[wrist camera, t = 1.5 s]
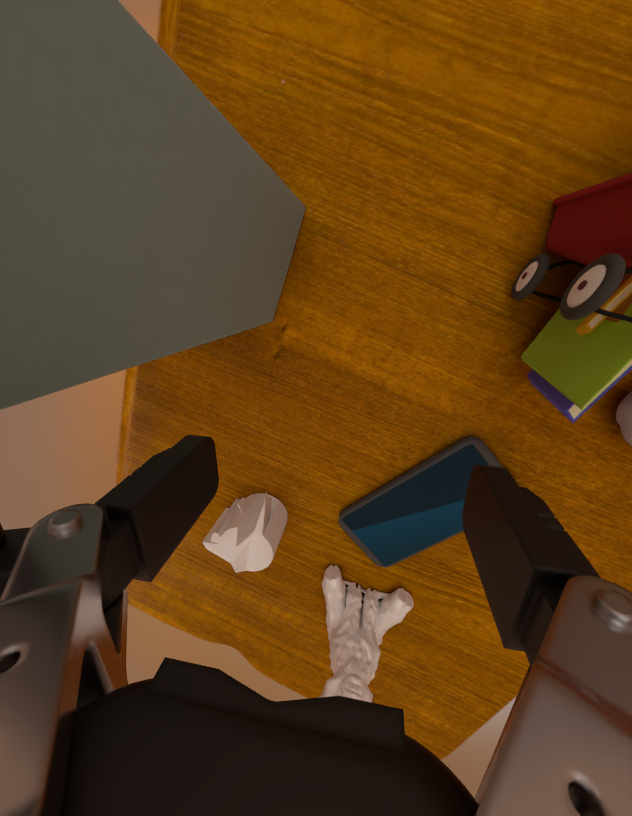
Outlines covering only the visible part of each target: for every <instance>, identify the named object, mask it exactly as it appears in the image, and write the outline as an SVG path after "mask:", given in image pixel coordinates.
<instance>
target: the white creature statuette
mask: <svg viewBox="0 0 632 816" xmlns="http://www.w3.org/2000/svg"><path fill="white" fill-rule="evenodd" d="M345 584H347V585H348V587H345ZM322 587H323V594H324V595H325V601H326V611H327V615H326V623H327V631H328V638H329V641H330V655H329V656H330V659H331V665H330V666H331V669H332V670H333V673H334V676H333V677H332V678H330V679H328V680H327V681H326V684H325V686H324V690H323V692H322V695H320V696H319V697H318V698H320V697H330V696H343V697H348V698H353V699H357V700H362V701H366V702H371V703H372V698H373V694H372V693H371V692H370V690H369V687H368V686H367V685H369V683H370V681H371V680H372V679H373V678H374V677H375V671H376V670H377V666H378V660H379V657H380V649H379V648H378V646H379V645H380V644H382V637H383V635H384V634H385V632H386V631H387V630H388V629H389V628H391V627H392V626H393V625H395V624H397V623H400V622H401V621H402V620H403V618H404V617H405V616H406V614H407V613H408V612H409V611H410V610H411V609H412V607H413V606H414V602H413V599H412V597H411V595H410V594H409V593H408V592H407V591H404V588H399V589H396V590H395V591H394V592H392V593H390V594H388V593H383V592H379V591H376V590H373V592H372V591H371V589H370V588H368V589H367V590H363V589H361V586H360V585H358V587H357V588H356V583H354V582H353V583H351V582H348V581H345V580H343V579H342V576H341V572H340V569H339V567H338V566H337V565H335V566H334V567H333V565H330V566H329V567H328V568H327V569H326V571H325V574H324V580H323V581H322ZM346 590H347V592H346ZM345 592H346V593H345ZM361 592H363V593H365V595H364V597H363V604H362V602H361V601H362V595H361ZM379 599H382V600H381V601H379Z"/></svg>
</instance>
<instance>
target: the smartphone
mask: <svg viewBox="0 0 632 816" xmlns="http://www.w3.org/2000/svg"><path fill="white" fill-rule="evenodd" d="M475 465H484V466H494V467H503V466H502V465H501V464H500V463H499V461H498V460H497V459H496V457H495V456H494V455H493V454H492V452H491V451H490V450H489V449H488V447H487V446H486V445H485V443H484V442H483V441H482V440H480V439H479V438H477V437H467V438H464V439H462V440H460V441H458V442H457V443H455V444H453V445H452V446H450V447H448V448H446V449H445V450H443V451H441V452H440V453H438V454H436V455H435V456H433V457H431V458H430V459H428V460H426V461H425V462H423V463H421V464H419V465H418V466H416V467H414V468H413V469H411V470H409V471H408V472H406V473H404V474H403V475H401V476H399V477H398V478H396V479H394V480H392V481H391V482H389V483H387V484H386V485H384V486H382V487H381V488H379V489H377V490H376V491H374V492H372V493H371V494H369V495H367V496H365V497H364V498H362V499H360V500H359V501H357V502H355V503H354V504H352V505H350V506H349V507H347V508H345V509H344V510H342V511H341V512H340V516H339V524H340V526H341V528H342V529H343V530H344V531H345V532H346V533H347V534H348V535H349V536H350V537H351V538H352V539H353V541H354V542H355V543H356V544H357V545H358V546H359V547H360V548H361V549H362V550H363V551H364V552H365V554H366V555H367V556H368V557H369V558H370V559H371V560H372V561H373V562H374V563H375V564H376V565H378V566H379V567H389V566H392V565H394V564H396V563H398V562H400V561H402V560H404V559H406V558H408V557H410V556H412V555H415V554H417V553H419V552H421V551H423V550H425V549H427V548H429V547H431V546H433V545H436V544H438V543H440V542H442V541H444V540H446V539H448V538H450V537H452V536H454V535H457V534H459V533H461V532H463V531H464V529H463V523H462V512H463V506H464V502H465V498H466V494H467V489H468V485H469V481H470V477H471V473H472V470H473V468H474V466H475Z"/></svg>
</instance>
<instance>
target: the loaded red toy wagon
mask: <svg viewBox="0 0 632 816" xmlns="http://www.w3.org/2000/svg"><path fill="white" fill-rule="evenodd" d="M553 205H554V206H556V207H557V210H556V213H555V216H554V218H553V221H552V224H551V227H550V230H549V234H548V237H547V240H546V247H547V249H548V251H550V252H552V253H553V254H556V255H558V256H560V257H563V258H565V259H567V260H570V261H562V262H557V263H554V264H552V265H550V258H549V256H548V255H546V254H540V255H538V256H536V257H534V258H533V259H532V260H531V261H530V262H529V263H528V264H527V265H526V266H525V267H524V268H523V270H522V271H521V273H520V274H519V276H518V277H517V279H516V281H515V283H514V285H513V288H512V292H511V294H512V298H513V299H514V300H522V299H524V298H526V297H527V296H529V295H530V294H531V293H532V294H535V295H537V296H540V297H544V298H547V299H551V300H555V301H559V302H560V308H559V309H558V311H557V312H556V313H555V314H554V316H553V317H552V318H551V319H550V321H549V322H548V323H547V324H546V326H545V327H544V328H543V329H542V331H541V332H540V333H539V334H538V336H537V337H536V338H535V339H534V341H533V342H532V343H531V344H530V346H529V347H528V348H527V349H526V350H525V352H524V353H523V354H522V355H521V359H522V360H523V361H524V362H525V363H526V364H527V365H529V366H530V367H531V368H532V370H531V371H530V372H529V373H528V374H527V377H528V379H529V380H530V382H531V384H532V385H533V386H534V387H535V388H536V389H537V390H538V391H539V392H540V393H541V394H542V395H544V396H545V397H546V398H547V399H548V400H549V401H550V402H551V403H552V404H553V405H554V406H555V407H556V408H557V409H558V410H559V411H560V412H561V413H562V414H563V415H565V416H566V417H567V418H568V419H569V420H570V421H571V422H572V423H574V422H575V421H576V420H577V419H578V418H579V417H580V416H581V415H582V414H583V413H584V412H586V411H587V410H588V409H589V408H590V407H591V406H592V405H593V404H594V403H595V402H596V401H598V400H599V399H600V398H601V397H602V396H603V395H604V394H605V393H606V392H607V391H608V390H610V389H611V388H612V387H613V386H614V385H615V384H616V383H617V382H618V381H619V380H620V379H622V378H623V377H624V376H625V375H626V374H627V373H628V372H629V371H630V370H631V369H632V173H629V174H626V175H623V176H620V177H617V178H614V179H611V180H608V181H605V182H602V183H600V184H597V185H594V186H591V187H588V188H585V189H582V190H579V191H576V192H573V193H570V194H568V195H565V196H562V197H559V198H557V199H556V200H555V201H554V203H553ZM564 264H576V265H580V266H584V267H585V268H584V269H583V270H582V271H581V272H580V273H579V274H578V275H577V276H576V277H575V278H574V279H573V281H572V282H571V283H570V285H569V286H568V288H567V289H566V291H565V293H564V295H563V297H562V298H559V297H556V296H551V295H548V294H544V293H541V292H538V291H535V289H536V288H537V286H538V285H539V284H540V282H541V281H542V279H543V278H544V276H545V274H546V272H547V271H548V270H550V269H552V268H554V267H557V266H560V265H564Z"/></svg>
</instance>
